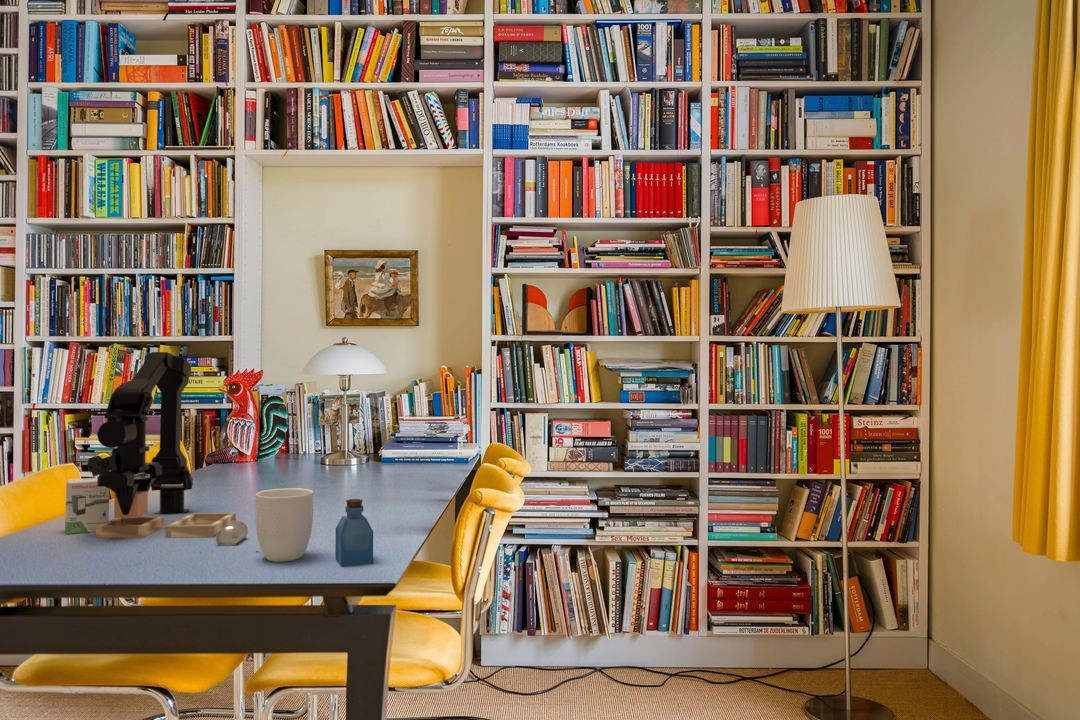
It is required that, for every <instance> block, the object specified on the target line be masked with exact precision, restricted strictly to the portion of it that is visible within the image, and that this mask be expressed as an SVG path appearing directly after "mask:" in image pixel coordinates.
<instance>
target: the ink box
mask: <svg viewBox="0 0 1080 720" xmlns="http://www.w3.org/2000/svg"><path fill="white" fill-rule="evenodd" d="M64 517H65V520H64V521H65V522H64V523H65V526H64V532H65V533H66V535H73V534H74V533H75V534H82V533H83V534H85V533H96V526H98V525H101V524H103V523H106V522H108V521H110V519H109V518H110V489H109V488H106V487H105V486H97V477H86V478H85V477H82V478H70V479H68V480H66V485H65V515H64Z"/></svg>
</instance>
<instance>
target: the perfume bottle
mask: <svg viewBox="0 0 1080 720" xmlns="http://www.w3.org/2000/svg"><path fill="white" fill-rule="evenodd" d="M345 502H346V506H345V507H344V508H345V510H344V511H345V513H346V515H342V516H341V518H340V519H339V521H338V523H337V524H336V527H335V545H334V546H335V547H334V548H335V552H334V553H335V555H334V557H335V558H334V559H335V561H336V563H337V564H338V566H340V567H353V566H361V565H362V566H363V565H372V564H374V531H373V528H372V527H371V524H370V522H369V521H368V518H366V516H364V514H363V512H364V505H362V504H363V499H360V498H352V499H351V498H349V499H346V500H345Z"/></svg>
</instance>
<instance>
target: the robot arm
mask: <svg viewBox="0 0 1080 720" xmlns="http://www.w3.org/2000/svg"><path fill="white" fill-rule="evenodd" d="M191 365H192V364H191V363H190V362H189V361H188V360H187V359H186V358H183V357H180V356H176V355H174V354H172V353H171V352H168V351H151V352H148V354H147V355H146V360H145V361H144V362H143V364H142V365H141V367H140V368H139V369H138V371H137V372H136V373H135V374H134V376H133V378H132V379H130V380H129V381H125V382H122V383H121V384H120V385H119V386H117V387H115V389H114V391H113V392H112V394H111V395H110V399H109V402H108V405H107V407H106V410H105V414H104V419H107V420H106V422H103V423H102V424H101V426H99V428H98V430H97V432H96V433H97V434H96V435H97V440H98V442H99V443H100V444H101V445H102V446H103V447H105V448H107V449H108V448H109V449H112V448H113V449H112V450H111V455H109V456H107V457H105V456H104V457H103V458H102V457H101V456H100V455H95V456H92V457H88V461H87V463H86V465H87V468H86V470H87V472H90V473H91V475H92V478H95V477H96V478H97V486H105V487H106V488H109V490H111V491H112V492H113V493H114V495H116V497H117V500H118V503H119V506H120V509H121V511H122V514H123V515H128V514H129V511H130V509H131V506H132V502H133V499H134V496H135V493H136V491H148V492H149V491H150V489H151V491H152V492H153V491H159V510H158V511H156V512H155V513H154V515H168V514H169V515H174V514H175V515H176V514H177V515H179V514H185V513H188V512H190V508H185V491H188V490H192V489H193V485H194V483H193V480H194V479H193V476H192V473H191V472H190V469H189V467H188V465H187V464H188V461H187V458H186V456H185V454H184V453H183V451H182V450H181V433H182V432H181V428H182V427H181V426H182V422H181V421H182V393H183V392H184V390H185V388H186V387H187V386H188V384H189V381H190V376H191V374H192V373H191V372H192V366H191ZM156 387H157V388H158V390H159V392H160V395H161V396H160V421H159V422H160V423H159V424H160V426H159V427H160V430H159V431H160V432H159V450H158V452H157V453H156V455H155V456H153V457H152V458H151V461H150V462H146V457H147V454H146V453H147V452H149V451H150V446H148V445H147V446H146V444H147V442H146V439H147V438H146V437H147V436H146V435H147V434H146V433H147V427H146V426H147V423H146V422H148V420H149V418H148V417H147V415H148V414H149V411H150V409H151V407H152V405H153V402H154V397H153V395H152V392H153V390H154V389H155V388H156ZM97 476H98V477H97Z"/></svg>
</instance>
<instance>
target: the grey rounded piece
mask: <svg viewBox="0 0 1080 720" xmlns="http://www.w3.org/2000/svg"><path fill="white" fill-rule="evenodd" d="M248 532H249V530H248V526H247V525H246V524H245V523H244V522H243V521H241V520H236V521H235V522H233V523H231V524H229V525H228V526H226V527H225V528H223V529H221V530H220V531H219V532H218V533H217V535H216V536H215V541H216V542H215V543H216V544H217V546H218V547H223V546H224V547H225V546H227V547H228V546H230V547H231V546H233V547H234V546H236V545H237V544H239V543H240V542H242V541H244V540H245V539H246V538H247V536H248Z"/></svg>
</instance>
